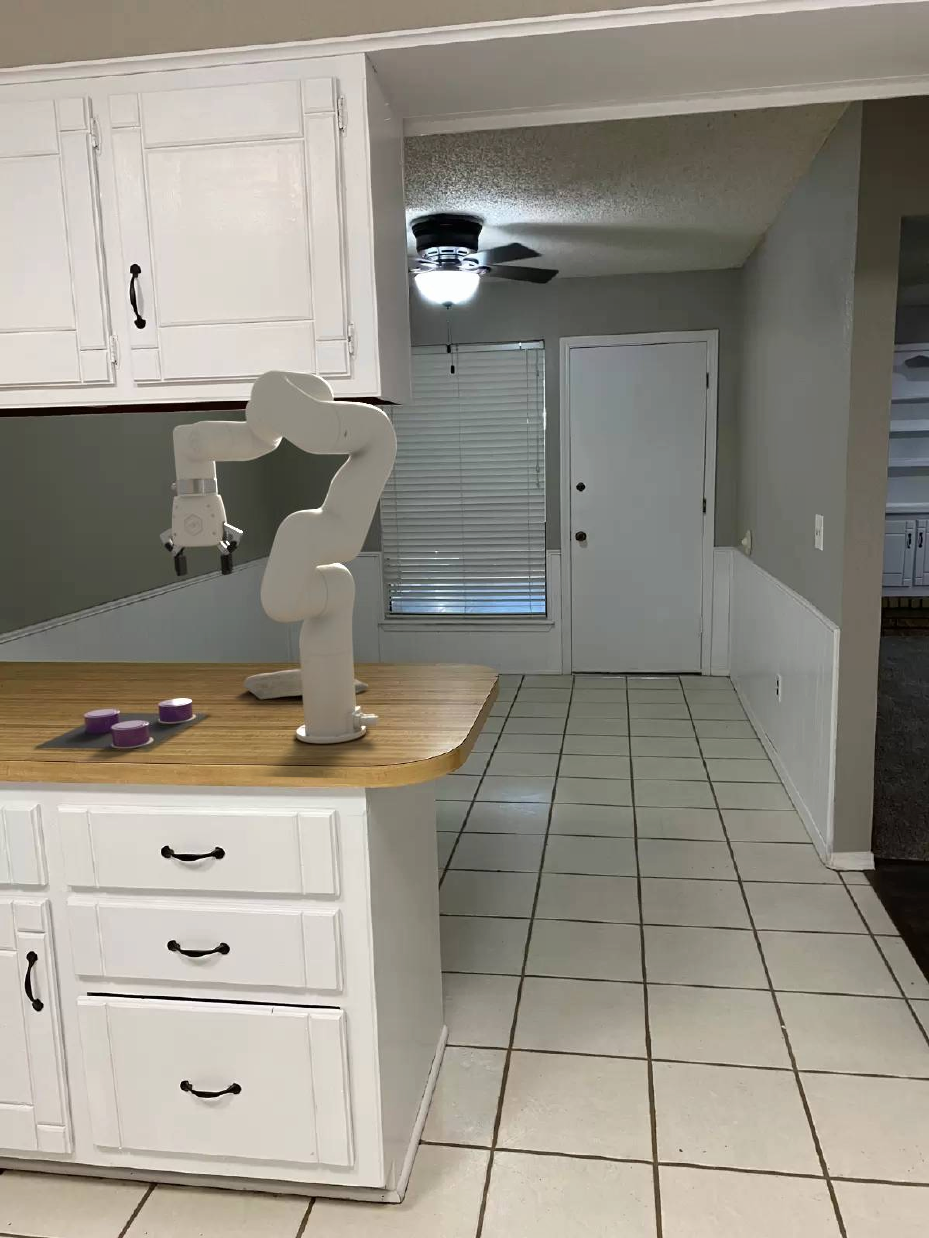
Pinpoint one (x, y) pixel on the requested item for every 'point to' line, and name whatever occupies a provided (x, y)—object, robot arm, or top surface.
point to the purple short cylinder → (130, 733)
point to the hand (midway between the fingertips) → (204, 574)
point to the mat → (104, 740)
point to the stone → (282, 684)
